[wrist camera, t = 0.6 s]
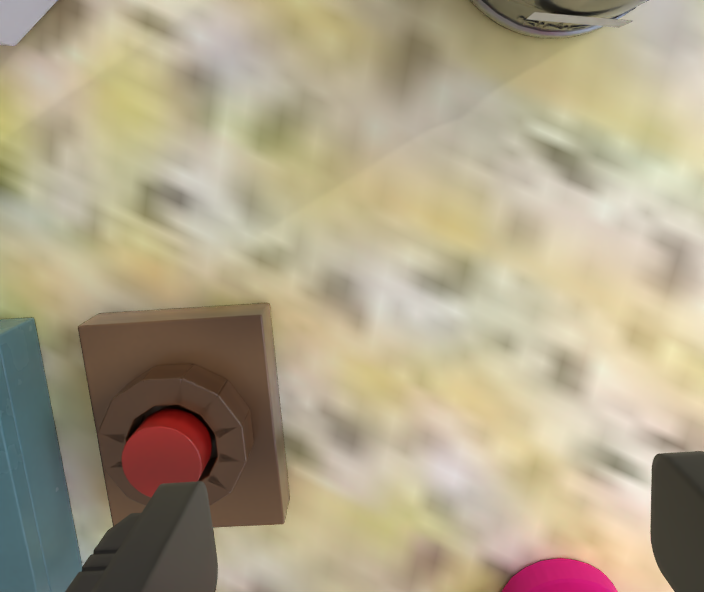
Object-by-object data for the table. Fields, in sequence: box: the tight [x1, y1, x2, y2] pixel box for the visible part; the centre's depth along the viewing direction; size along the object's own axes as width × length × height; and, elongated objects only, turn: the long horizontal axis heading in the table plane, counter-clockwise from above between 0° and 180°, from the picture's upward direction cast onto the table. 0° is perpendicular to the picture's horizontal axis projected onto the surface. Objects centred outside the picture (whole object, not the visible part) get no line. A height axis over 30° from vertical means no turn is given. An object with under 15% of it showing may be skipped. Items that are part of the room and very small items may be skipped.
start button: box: [122, 409, 212, 497], centre depth 26 cm, size 3×3×2 cm
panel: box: [78, 303, 290, 527], centre depth 28 cm, size 10×8×4 cm
